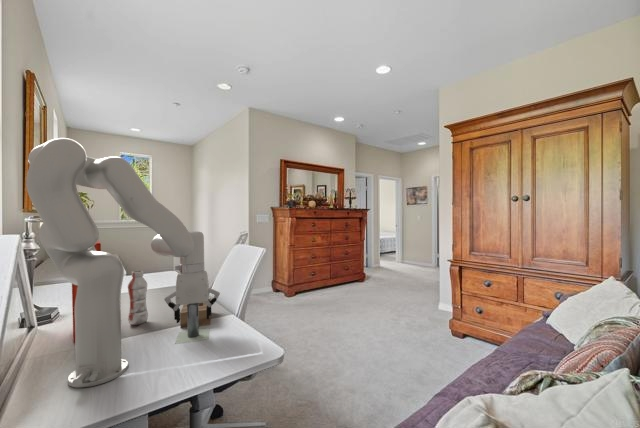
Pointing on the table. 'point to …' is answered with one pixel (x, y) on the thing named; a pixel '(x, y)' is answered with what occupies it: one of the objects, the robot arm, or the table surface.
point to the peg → (193, 320)
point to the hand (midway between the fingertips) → (193, 319)
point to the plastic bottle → (137, 299)
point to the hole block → (202, 315)
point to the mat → (184, 338)
